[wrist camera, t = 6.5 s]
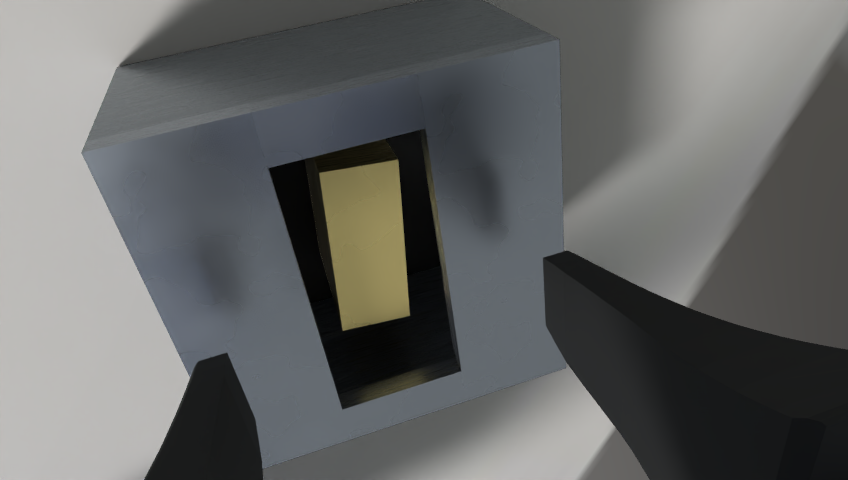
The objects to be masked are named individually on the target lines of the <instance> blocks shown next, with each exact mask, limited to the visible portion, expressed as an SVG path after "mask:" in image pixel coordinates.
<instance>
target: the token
mask: <svg viewBox="0 0 848 480" xmlns="http://www.w3.org/2000/svg"><path fill="white" fill-rule="evenodd" d="M305 165H306V171H307V177H308V183H309V190H310V196H311V202H312V208H313V215H314V221H315V227H316V233H317V240H318V246H319V252H320V255H321V258H322V262H323V265H324V269H325V272H326V276H327V279H328V282H329V286H330V289H331V293H332V296H333V300H334V303H335V306H336V310H337V313H338V317H339V320H340V324H341V327H342V330H343V331H344V330H349V329H353V328H358V327H362V326H367V325H371V324H376V323H380V322H385V321H389V320H394V319H398V318H402V317H407V316H410V310H409V297H408V283H407V270H406V256H405V243H404V229H403V216H402V202H401V189H400V175H399V162H398V158H397V157H396V155H395V154H394V152H393V151H392V149H391V148H390V146H389V144H388V143H387V141H386V140H385V139H382V140H378V141H374V142H370V143H366V144H362V145H358V146H354V147H350V148H346V149H342V150H338V151H334V152H330V153H326V154H322V155H318V156H314V157H311V158H307V159H305Z"/></svg>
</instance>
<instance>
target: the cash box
mask: <svg viewBox="0 0 848 480" xmlns="http://www.w3.org/2000/svg"><path fill="white" fill-rule="evenodd" d="M417 130H420V135H421V141H422V148H423V154H424V161H425V167H426V174H427V180H428V187H429V193H430V200H431V206H432V213H433V219H434V226H435V232H436V239H437V245H438V252H439V258H440V265H441V266H438V267H435V268H431V269H428V270H424V271H421V272H418V273H414V274H411V275H407V283H408V297H409V310H410V316H407V317H402V318H398V319H394V320H389V321H385V322H380V323H376V324H371V325H367V326H362V327H358V328H353V329H349V330H344V331H343V330H342V327H341V324H340V320H339V317H338V313H337V310H336V306H335V303H334V300H333V297H332V298H329V299H325V300H322V301H318V302H315V303H312V304H311V303H310V300H309V297H308V294H307V290H306V287H305V284H304V280H303V277H302V274H301V271H300V267H299V264H298V261H297V258H296V254H295V251H294V248H293V245H292V241H291V238H290V235H289V232H288V228H287V225H286V222H285V219H284V215H283V212H282V209H281V206H280V202H279V199H278V196H277V193H276V189H275V186H274V183H273V180H272V176H271V173H270V170H269V168H271V167H275V166H279V165H283V164H287V163H291V162H295V161H299V160H303V159H307V158H311V157H314V156H318V155H322V154H326V153H330V152H334V151H338V150H342V149H346V148H350V147H354V146H358V145H362V144H366V143H370V142H374V141H378V140H382V139H386V138H390V137H394V136H398V135H401V134H405V133H409V132H413V131H417ZM82 155H83V157H84V159H85V161H86V163H87V165H88V167H89V170H90V172H91V174H92V176H93V178H94V180H95V182H96V184H97V186H98V188H99V190H100V192H101V194H102V196H103V198H104V201H105V203H106V205H107V207H108V209H109V211H110V213H111V215H112V217H113V219H114V221H115V223H116V225H117V227H118V229H119V232H120V234H121V236H122V238H123V240H124V242H125V244H126V246H127V248H128V250H129V252H130V254H131V256H132V258H133V260H134V263H135V265H136V267H137V269H138V271H139V273H140V275H141V277H142V279H143V281H144V283H145V285H146V287H147V289H148V292H149V294H150V296H151V298H152V300H153V302H154V304H155V306H156V308H157V310H158V312H159V314H160V316H161V318H162V320H163V323H164V325H165V327H166V329H167V331H168V333H169V335H170V337H171V339H172V341H173V343H174V345H175V347H176V349H177V351H178V354H179V356H180V358H181V360H182V362H183V364H184V366H185V368H186V370H187V372H188V374H189V376H190V377H191V375H192V372H193V369H194V367H195V365H196V363H197V362H198V361H200V360H204V359H207V358H210V357H214V356H217V355H220V354H224V353H228V356H229V358H230V360H231V363H232V365H233V367H234V370H235V372H236V374H237V377H238V379H239V381H240V384H241V386H242V389H243V391H244V393H245V396H246V398H247V400H248V403H249V405H250V407H251V410H252V412H253V415H254V417H255V420H256V426H257V432H258V438H259V445H260V451H261V458H262V469H264V468H267V467H270V466H273V465H276V464H279V463H282V462H285V461H288V460H291V459H294V458H297V457H300V456H303V455H306V454H309V453H312V452H315V451H318V450H321V449H324V448H327V447H330V446H333V445H336V444H339V443H342V442H345V441H348V440H351V439H354V438H357V437H360V436H363V435H366V434H369V433H372V432H375V431H378V430H381V429H384V428H387V427H390V426H393V425H396V424H399V423H402V422H405V421H408V420H411V419H414V418H417V417H420V416H423V415H426V414H429V413H432V412H435V411H438V410H441V409H444V408H447V407H450V406H453V405H456V404H459V403H462V402H465V401H468V400H471V399H474V398H477V397H480V396H483V395H486V394H489V393H492V392H495V391H498V390H501V389H504V388H507V387H510V386H513V385H516V384H519V383H522V382H525V381H528V380H531V379H534V378H537V377H540V376H543V375H546V374H549V373H552V372H555V371H558V370H561V369H564V368H566V361H565V359H564V357H563V356H562V354H561V352H560V351H559V349H558V347H557V345H556V344H555V342H554V340H553V338H552V336H551V334H550V333H549V331H548V329H547V327H546V321H545V298H544V276H543V258H544V257H547V256H550V255H553V254H557V253H560V252H563V251H564V236H563V185H562V134H561V83H560V39H558V38H556V37H554V36H552V35H550V34H548V33H546V32H544V31H542V30H540V29H538V28H536V27H534V26H532V25H530V24H528V23H526V22H524V21H523V20H521V19H519V18H517V17H515V16H513V15H511V14H509V13H507V12H505V11H503V10H501V9H499V8H497V7H495V6H493V5H491V4H489V3H487V2H485V1H483V0H424V1H420V2H415V3H410V4H406V5H401V6H397V7H392V8H387V9H383V10H378V11H374V12H369V13H364V14H360V15H355V16H350V17H346V18H341V19H337V20H332V21H327V22H323V23H318V24H314V25H309V26H304V27H300V28H295V29H291V30H286V31H281V32H277V33H272V34H268V35H263V36H258V37H254V38H249V39H244V40H240V41H235V42H231V43H226V44H221V45H217V46H212V47H208V48H203V49H198V50H194V51H189V52H185V53H180V54H175V55H171V56H166V57H162V58H157V59H152V60H148V61H143V62H138V63H134V64H129V65H125V66H120V67H117V69H116V71H115V73H114V76H113V78H112V81H111V83H110V85H109V88H108V90H107V93H106V95H105V97H104V100H103V102H102V105H101V107H100V109H99V112H98V114H97V117H96V119H95V121H94V124H93V126H92V129H91V131H90V133H89V136H88V138H87V141H86V143H85V145H84V148H83V150H82Z"/></svg>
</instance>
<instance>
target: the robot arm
mask: <svg viewBox="0 0 848 480" xmlns="http://www.w3.org/2000/svg"><path fill="white" fill-rule="evenodd" d="M543 276H544V298H545V321H546V327H547V329H548V331H549V333H550V334H551V336H552V338H553V340H554V342H555V344H556V345H557V347H558V349H559V351H560V352H561V354H562V356H563V357H564V359H565V361H566V362H567V364H568V365H569V366H570V368H571V369H572V370H573V372H574V373H575V374H576V376H577V377H578V378H579V380H580V381H581V382H582V384H583V385H584V386H585V388H586V389H587V390H588V392H589V393H590V394H591V396H592V397H593V398H594V400H595V401H596V402H597V404H598V405H599V406H600V408H601V409H602V410H603V411H604V413H605V414H606V415H607V417H608V418H609V419H610V421H611V422H612V423H613V425H614V426H615V427H616V429H617V430H618V431H619V432H620V433H621V435H622V437H623V438H624V439H625V441H626V442H627V444H628V445H629V447H630V448H631V450H632V451H633V453H634V454H635V456H636V458H637V459H638V461H639V462H640V464H641V466H642V468H643V469H644V471H645V472H646V474H647V476H648V478H649V479H650V480H848V350H846V349H840V348H834V347H829V346H823V345H818V344H813V343H808V342H803V341H798V340H794V339H789V338H785V337H780V336H777V335H773V334H769V333H765V332H761V331H757V330H754V329H750V328H747V327H743V326H740V325H736V324H733V323H730V322H727V321H724V320H721V319H718V318H715V317H712V316H709V315H706V314H703V313H701V312H698V311H695V310H693V309H690V308H687V307H685V306H683V305H680V304H678V303H675V302H673V301H671V300H668V299H666V298H663V297H661V296H659V295H657V294H655V293H652V292H650V291H648V290H646V289H644V288H641V287H639V286H637V285H635V284H633V283H631V282H629V281H627V280H625V279H623V278H621V277H619V276H617V275H615V274H613V273H611V272H609V271H607V270H605V269H603V268H601V267H599V266H597V265H595V264H593V263H592V262H590V261H588V260H586V259H584V258H582V257H580V256H578V255H576V254H574V253H572V252H569V251H563V252H560V253H557V254H553V255H550V256H547V257H544V258H543ZM144 480H263V472H262V458H261V451H260V445H259V438H258V432H257V426H256V420H255V417H254V415H253V412H252V410H251V407H250V405H249V403H248V400H247V398H246V396H245V393H244V391H243V389H242V386H241V384H240V381H239V379H238V377H237V374H236V372H235V370H234V367H233V365H232V363H231V360H230V358H229V356H228V353H224V354H220V355H217V356H214V357H210V358H207V359H204V360H200V361H198V362H197V363H196V365H195V367H194V369H193V372H192V375H191V377H190V380H189V383H188V385H187V388H186V390H185V393H184V396H183V398H182V401H181V403H180V405H179V408H178V410H177V413H176V415H175V417H174V419H173V422H172V424H171V426H170V428H169V431H168V433H167V435H166V437H165V439H164V442H163V444H162V446H161V448H160V450H159V452H158V454H157V456H156V458H155V460H154V462H153V464H152V466H151V467H150V469H149V471H148V473H147V475H146V477H145V479H144Z"/></svg>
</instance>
